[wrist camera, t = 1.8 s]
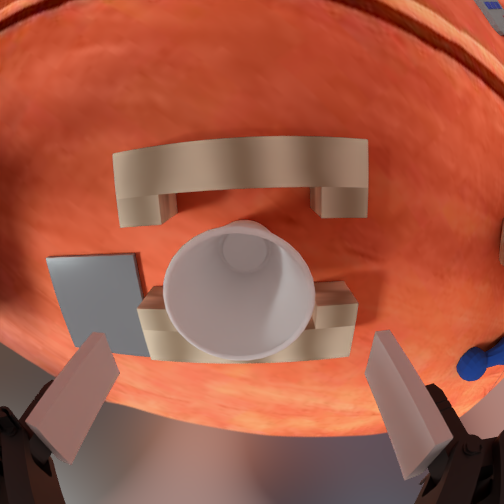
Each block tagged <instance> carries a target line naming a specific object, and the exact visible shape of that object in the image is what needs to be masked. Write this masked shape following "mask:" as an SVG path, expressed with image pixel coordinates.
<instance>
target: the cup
mask: <svg viewBox="0 0 504 504" xmlns="http://www.w3.org/2000/svg"><path fill="white" fill-rule="evenodd" d="M163 298H164V303H165V308H166V311H167V313H168V316H169V318H170V320H171V322H172V324H173V325H174V327H175V328H176V329H177V331H178V332H179V333H180V334H181V335H182V336H183V337H184V338H185V339H186V340H187V341H188V342H189V343H191V344H192V345H193V346H195V347H196V348H198V349H199V350H201V351H203V352H205V353H207V354H209V355H212V356H216V357H219V358H222V359H228V360H235V361H249V360H255V359H261V358H265V357H267V356H270V355H273V354H276V353H277V352H279V351H281V350H283V349H285V348H286V347H288V346H289V345H290V344H291V343H293V342H294V341H295V340H296V339H297V338H298V337H299V336H300V335H301V333H302V332H303V331H304V330H305V328H306V326H307V324H308V323H309V321H310V319H311V316H312V313H313V309H314V306H315V287H314V281H313V277H312V275H311V272H310V270H309V267H308V265H307V264H306V262H305V261H304V259H303V258H302V256H301V255H300V253H299V252H298V251H296V250H295V249H294V248H293V247H292V246H291V245H290V244H289V243H288V242H286V241H285V240H283V239H281V238H280V237H278V236H277V235H275V234H273V233H271V232H270V231H269V230H268V229H267V228H266V227H265V226H263V225H261V224H260V223H258V222H255V221H252V220H238V221H234V222H231V223H229V224H227V225H225V226H223V227H219V228H215V229H211V230H208V231H205V232H203V233H201V234H199V235H197V236H195V237H193V238H192V239H191V240H189V241H188V242H187V243H186V244H184V245H183V246H182V247H181V248H180V249H179V251H178V252H177V253H176V254H175V255H174V257H173V258H172V260H171V262H170V264H169V266H168V268H167V270H166V274H165V278H164V282H163Z"/></svg>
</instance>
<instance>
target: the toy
mask: <svg viewBox="0 0 504 504" xmlns="http://www.w3.org/2000/svg"><path fill="white" fill-rule="evenodd" d="M495 365H504V336H503V337H502V338H501V340H500V341H499V342H498V343H497V344H496V345H495V346H494V347H493V348H491V349H490V350H488V351H486V352H484V351H483V350H481V349H480V348H478V347H472V348H471V349H469V350H468V351H467V352H466V353H465V354H464V355H463V356H462V357H461V359H460V361H459V363H458V365H457V372H458V374H459V375H460V377H461V378H462V379H464V380H467V381H475V380H478V379H479V378H480V377H481V376H482V375H483V374H484V373H485V371H486V368H488V367H492V366H495Z"/></svg>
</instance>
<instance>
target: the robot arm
mask: <svg viewBox="0 0 504 504" xmlns="http://www.w3.org/2000/svg"><path fill="white" fill-rule="evenodd" d="M119 374H120V372H119V370H118V367H117V365H116V362H115V360H114V357H113V355H112V352H111V350H110V347H109V344H108V342H107V339H106V336H105V333H98V332H92V334H91V335H90V336H89V337H88V338H87V340H86V341H85V342H84V343H83V344H82V346H81V347H80V348H79V349H78V351H77V352H76V353H75V354H74V356H73V357H72V358H71V359H70V361H69V362H68V363H67V364H66V366H65V367H64V368H63V370H62V371H61V372H60V373H59V375H58V376H57V377H56V379H55V380H51V381H50V382H48V383H47V384H45V385H44V387H43V388H42V389H41V390H40V392H39V394H37V396H36V397H35V400H33V401H32V403H31V404H30V405H29V407H28V408H27V409H26V411H25V412H24V414H23V415H22V417H21V418H20V419H19V420H18V419H17V418H16V417H15V415H14V414H13V413H12V411H11V410H10V409H9V408H8V407H6V406H2V407H0V504H65V501H64V498H63V495H62V492H61V488H60V485H59V482H58V478H57V475H56V471H55V467H54V463H53V460H52V458H51V457H50V455H51V453H53V454H54V455H55V456H56V457H57V458H58V459H59V460H61V461H63V462H65V463H68V464H70V465H71V464H72V462H73V460H74V458H75V456H76V454H77V452H78V450H79V448H80V446H81V444H82V442H83V440H84V438H85V436H86V434H87V432H88V431H89V429H90V427H91V425H92V423H93V421H94V419H95V417H96V415H97V413H98V412H99V410H100V408H101V406H102V404H103V402H104V401H105V399H106V397H107V395H108V393H109V392H110V390H111V388H112V386H113V384H114V383H115V381H116V379H117V377H118V376H119ZM365 376H366V378H367V381H368V383H369V386H370V388H371V390H372V393H373V395H374V398H375V400H376V403H377V405H378V408H379V411H380V413H381V416H382V418H383V421H384V423H385V426H386V429H387V431H388V434H389V437H390V440H391V442H392V445H393V448H394V451H395V453H396V456H397V459H398V462H399V465H400V468H401V471H402V474H403V477H404V480H406V479H409V478H412V477H414V476H417V475H420V474H422V472H424V471H425V469H426V468H427V467H428V470H429V472H430V473H429V474H428V475H427V476H426V477H425V478H424V479H423V480H422V481H421V482H420V485H422V484H423V483H424V485H423V487H422V489H421V491H420V493H419V495H418V498H417V500H416V501H415V503H414V504H504V430H503V431H502V432H501V433H500V435H499V436H498V437H494V438H489V439H483V440H482V439H480V438H479V437H478V436H476V435H469V434H468V433H467V431H466V430H465V428H464V426H463V425H462V423H461V421H460V419H459V417H458V416H457V414H456V412H455V411H454V409H453V408H452V407H451V406H452V405H451V404H450V402H449V401H448V400H447V397H446V396H445V394H444V392H443V391H442V390H441V389H440V388H439V387H437V386H436V385H435V384H434V383H433V384H430V385H426V386H425V385H424V384H423V382H422V380H421V379H420V377H419V375H418V374H417V372H416V370H415V369H414V367H413V365H412V364H411V362H410V361H409V359H408V358H407V356H406V354H405V353H404V351H403V350H402V348H401V347H400V345H399V343H398V342H397V340H396V339H395V337H394V336H393V334H392V333H391V331H390V330H384V331H376V332H375V335H374V340H373V344H372V348H371V352H370V356H369V360H368V363H367V367H366V371H365Z"/></svg>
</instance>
